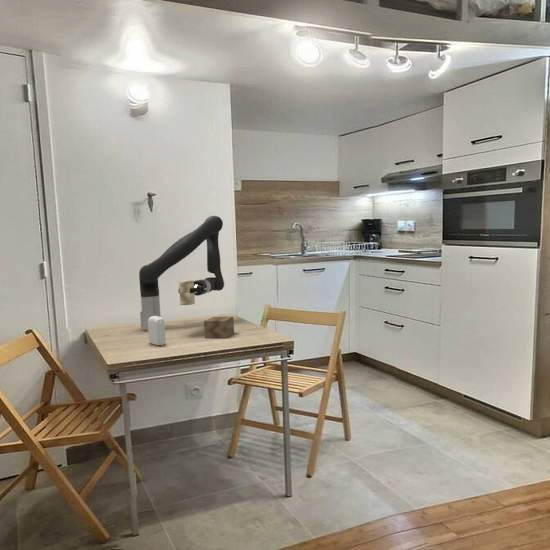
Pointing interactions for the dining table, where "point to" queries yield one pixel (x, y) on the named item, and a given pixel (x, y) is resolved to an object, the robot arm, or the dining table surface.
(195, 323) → the dining table surface
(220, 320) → the walnut block
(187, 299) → the maple block
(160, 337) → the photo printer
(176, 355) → the dining table surface
